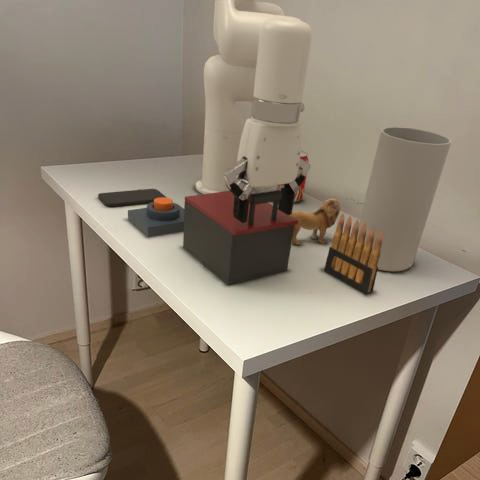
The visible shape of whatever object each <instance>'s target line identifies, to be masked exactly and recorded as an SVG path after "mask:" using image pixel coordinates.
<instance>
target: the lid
mask: <svg viewBox="0 0 480 480" xmlns="http://www.w3.org/2000/svg"><path fill="white" fill-rule="evenodd" d="M242 190H243V189H242ZM246 199H247V200H249V207H248V216H247V222H246V223H242V222H240V221H239V220H237V219H236V218H234V216H233V207H234V195H233V194H232V193H231V191H224V192H217V193H209V194H202V193H200V194H195V195H189V196H188V195H187V196H184V202H185V201H186V202H188V203H189V204H191V205H192V206H193V207H195V208H196V209H198V210H199V211H201V212H202V213H203V214H205V215H206V216H208V217H209V218H211V219H212V220H213V221H215V222H216V223H218V224H219V225H221V226H222V227H223V228H225V229H226V230H228V231H229V232H231V233H232V234H233V235H235V236H237V235H242V234H248V233H253V232H258V231H264V230H269V229H274V228H280V227H285V226H290V225H296V224H298V220H297V219H295V218H293V217H292V216H290V215H287V214H285V213H283V212H282V211H280V210H279V209H278V205H279V201H280V200H281V199H282V193H281V191H279V190H277V189H276V190H270V191H263V192H254V193H252V192H250V194H249V195H248V196H247V198H246ZM271 203H272V204H271Z"/></svg>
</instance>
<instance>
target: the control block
mask: <svg viewBox="0 0 480 480" xmlns="http://www.w3.org/2000/svg"><path fill="white" fill-rule="evenodd" d="M127 220H128V221H129V222H130V223H131V224H132V225H134V227H136V228H137V229H138V230H139V231H140V232H142V233H143V234H144V235H145V236H146V238H150V237H158V236H163V235H169V234H174V233H175V234H176V233H181V232H184V207H182V206H181V205H180V204H178V203H175V202H173V209H172V210H169V211H160V210H156V209H154V202H151V203H146V207H142V208H141V207H140V208H135V209H128V210H127Z"/></svg>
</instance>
